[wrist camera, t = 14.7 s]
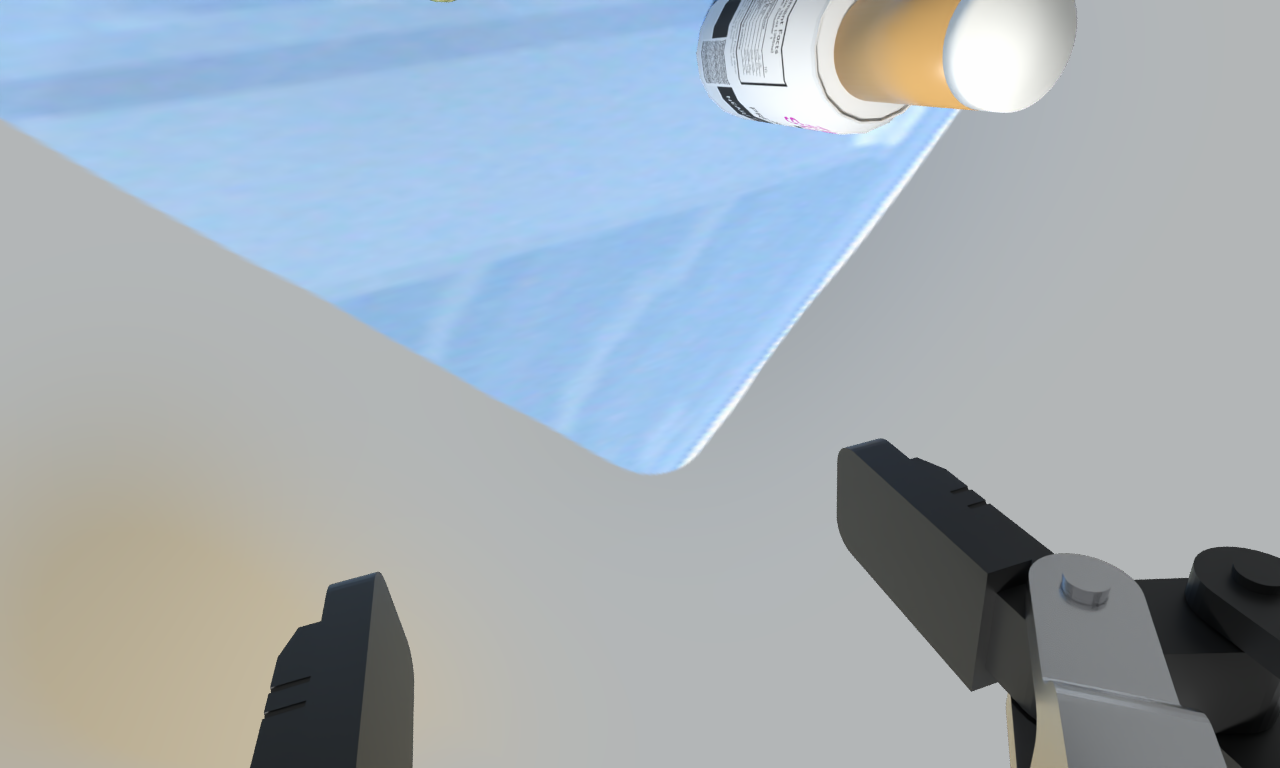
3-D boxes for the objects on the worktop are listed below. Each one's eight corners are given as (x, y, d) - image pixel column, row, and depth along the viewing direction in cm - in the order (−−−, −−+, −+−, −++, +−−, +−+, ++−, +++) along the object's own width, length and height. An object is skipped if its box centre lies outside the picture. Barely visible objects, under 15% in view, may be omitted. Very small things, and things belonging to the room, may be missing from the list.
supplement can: (775, -46, 44) (924, -93, 31) (823, 75, 48) (973, 78, 35) (671, 27, 44) (775, 10, 31) (727, 142, 48) (841, 169, 35)
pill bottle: (874, -34, 31) (1026, -67, 24) (940, 30, 34) (1099, 20, 26) (815, 64, 33) (940, 64, 25) (882, 121, 35) (1017, 137, 27)
